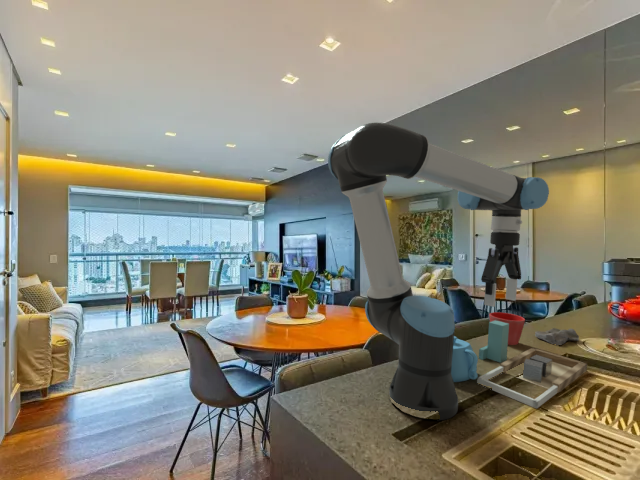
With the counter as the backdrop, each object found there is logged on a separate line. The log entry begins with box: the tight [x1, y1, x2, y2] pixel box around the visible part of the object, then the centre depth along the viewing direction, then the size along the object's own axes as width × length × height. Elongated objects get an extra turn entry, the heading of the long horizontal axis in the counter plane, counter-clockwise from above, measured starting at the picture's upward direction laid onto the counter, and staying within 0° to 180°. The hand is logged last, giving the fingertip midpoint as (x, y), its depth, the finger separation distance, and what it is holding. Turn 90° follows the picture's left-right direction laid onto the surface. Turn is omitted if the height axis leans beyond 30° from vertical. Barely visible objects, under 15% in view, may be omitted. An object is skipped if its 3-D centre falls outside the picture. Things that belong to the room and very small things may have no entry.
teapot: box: [451, 335, 479, 383], centre depth 93 cm, size 13×11×18 cm
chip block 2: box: [530, 355, 552, 378], centre depth 93 cm, size 4×4×4 cm
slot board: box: [499, 347, 588, 394], centre depth 95 cm, size 22×14×3 cm, turn 127°
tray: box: [476, 365, 558, 409], centre depth 84 cm, size 12×14×2 cm
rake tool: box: [478, 320, 509, 364], centre depth 102 cm, size 5×9×12 cm, turn 127°
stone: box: [534, 327, 580, 346], centre depth 124 cm, size 15×10×4 cm, turn 113°
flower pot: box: [488, 311, 526, 346], centre depth 118 cm, size 11×11×10 cm
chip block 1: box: [523, 359, 543, 383], centre depth 90 cm, size 4×4×4 cm
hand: (500, 302), depth 101 cm, fingers open, 13 cm apart
